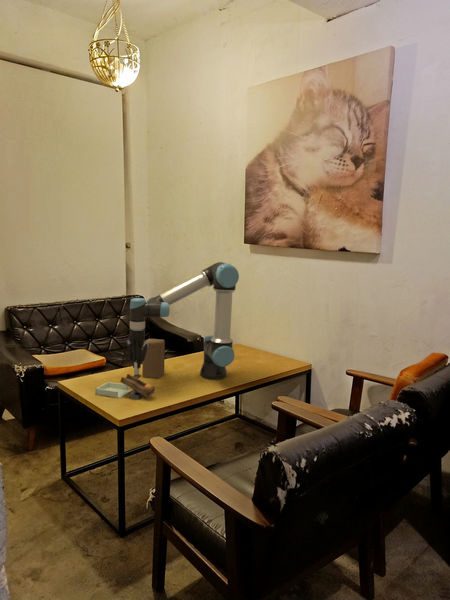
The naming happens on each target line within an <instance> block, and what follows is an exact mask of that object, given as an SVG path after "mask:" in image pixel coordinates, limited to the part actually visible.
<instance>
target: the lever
mask: <svg viewBox="0 0 450 600" xmlns="http://www.w3.org/2000/svg"><path fill="white" fill-rule="evenodd" d="M141 377H142V374H140V373H139V374H138V375H134V374H133V375H132V374H129V373H127V375H126V376H125V377H124V376H122V377H121V378H120V381H119V382H120V384H125V385H127V386H128V388H129V389H130V388H131V390H132V391H133V390H136V391H138V392H139V393H141V394H143V395H144V396H145V397H147V398H149V397H151V395H154V394H155V393H154V392H155V390H156V388H157V387H156V386H152V388H151V389H150V390H149V391H147V390H145V389H144V387H145V385H146V384H147V383H146V382H144V381H142V380H140V378H141Z"/></svg>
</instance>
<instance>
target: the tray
mask: <svg viewBox="0 0 450 600" xmlns="http://www.w3.org/2000/svg"><path fill="white" fill-rule="evenodd" d="M132 392H133V389H129V386H127V385H125V384H123V383H118V382H113V381H112V382H111V381H107V382H105V383H103V384H101V385H100V386H98V387H96V388H95V395H96V396H103V397H109V398H114V399H115V398H116V399H122V398H124V397H125V396H127V395H129V394H130V393H132Z"/></svg>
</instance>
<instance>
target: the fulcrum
mask: <svg viewBox="0 0 450 600" xmlns="http://www.w3.org/2000/svg"><path fill="white" fill-rule="evenodd" d="M128 396H129V397H128V398H129V399H133V400H140V399H141V398H143V397H144V396H145V395H143V394H141V393H139V392H138V391H136V390H133V389H132V391H131V392H130V393H128Z"/></svg>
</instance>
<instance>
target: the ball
mask: <svg viewBox="0 0 450 600" xmlns="http://www.w3.org/2000/svg"><path fill="white" fill-rule="evenodd" d="M152 387H153V385H151V384H150V383H146V385H145V387H144V389H145V390H147V391H149V390H150V389H151V388H152Z"/></svg>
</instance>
